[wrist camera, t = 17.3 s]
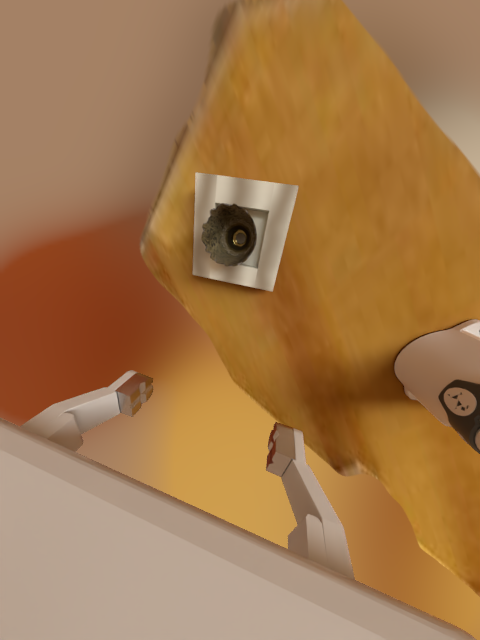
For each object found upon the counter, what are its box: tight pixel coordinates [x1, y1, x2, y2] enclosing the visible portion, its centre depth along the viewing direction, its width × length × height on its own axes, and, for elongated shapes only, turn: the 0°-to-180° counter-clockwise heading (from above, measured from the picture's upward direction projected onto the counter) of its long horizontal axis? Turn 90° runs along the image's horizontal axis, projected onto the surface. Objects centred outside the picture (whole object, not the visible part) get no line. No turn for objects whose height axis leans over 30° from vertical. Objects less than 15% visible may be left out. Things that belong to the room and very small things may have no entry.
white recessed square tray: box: [193, 173, 299, 291], centre depth 29 cm, size 15×15×5 cm
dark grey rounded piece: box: [201, 203, 257, 266], centre depth 25 cm, size 8×7×8 cm
